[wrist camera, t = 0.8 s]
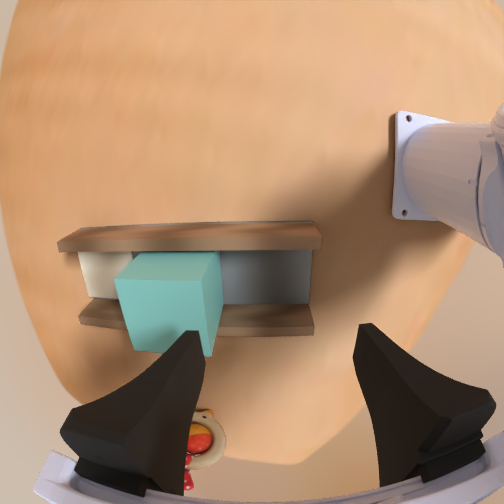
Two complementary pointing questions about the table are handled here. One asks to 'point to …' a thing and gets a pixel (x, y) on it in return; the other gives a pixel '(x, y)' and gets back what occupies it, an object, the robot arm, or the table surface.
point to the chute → (232, 270)
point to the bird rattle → (203, 444)
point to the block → (171, 298)
